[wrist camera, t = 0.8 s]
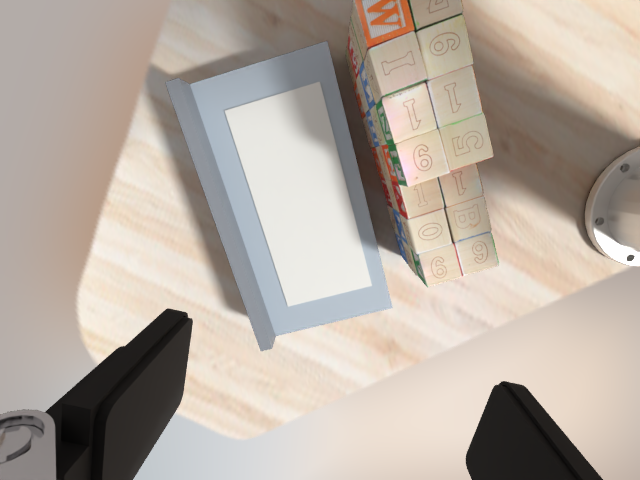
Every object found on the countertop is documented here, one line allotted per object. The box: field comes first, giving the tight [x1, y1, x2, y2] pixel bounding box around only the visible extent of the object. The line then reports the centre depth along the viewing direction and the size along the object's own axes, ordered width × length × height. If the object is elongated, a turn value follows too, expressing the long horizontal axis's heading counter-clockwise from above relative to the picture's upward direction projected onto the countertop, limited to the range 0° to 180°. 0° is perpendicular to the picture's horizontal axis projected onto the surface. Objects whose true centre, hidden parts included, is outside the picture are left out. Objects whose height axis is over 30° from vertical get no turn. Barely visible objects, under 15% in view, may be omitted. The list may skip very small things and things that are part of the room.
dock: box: [165, 41, 393, 351], centre depth 33 cm, size 14×26×5 cm, turn 15°
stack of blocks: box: [346, 0, 499, 287], centre depth 28 cm, size 21×6×12 cm, turn 18°
